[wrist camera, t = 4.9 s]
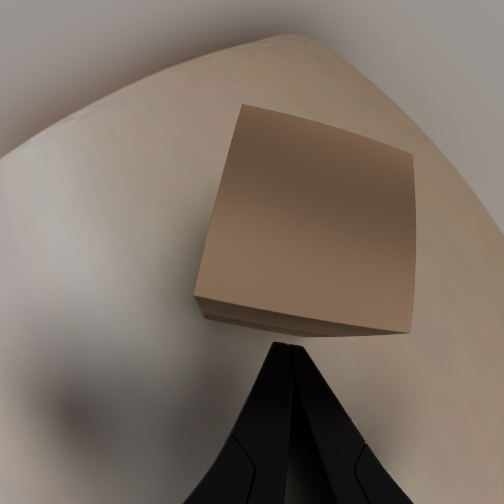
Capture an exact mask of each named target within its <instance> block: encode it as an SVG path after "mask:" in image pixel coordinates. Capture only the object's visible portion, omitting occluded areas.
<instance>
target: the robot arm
mask: <svg viewBox="0 0 504 504" xmlns="http://www.w3.org/2000/svg"><path fill="white" fill-rule="evenodd" d="M183 504H414V503H413V502H412V501H411V500H410V499H409V497H408V496H407V495H406V494H405V493H404V492H403V491H402V489H401V488H400V487H399V486H398V485H397V484H396V482H395V481H394V480H393V479H392V478H391V476H390V475H389V474H388V473H387V471H386V470H385V469H384V468H383V466H382V465H381V463H380V462H379V460H378V459H377V458H376V456H375V455H374V453H373V452H372V450H371V449H370V447H369V446H368V444H367V443H365V440H364V438H363V437H362V435H361V434H360V432H359V431H358V429H357V428H356V426H355V425H354V423H353V422H352V420H351V419H350V417H349V416H348V414H347V413H346V411H345V410H344V408H343V407H342V405H341V404H340V402H339V400H338V399H337V397H336V396H335V394H334V393H333V391H332V390H331V388H330V387H329V385H328V384H327V382H326V381H325V379H324V378H323V376H322V374H321V373H320V371H319V370H318V368H317V367H316V365H315V364H314V362H313V361H312V359H311V358H310V356H309V355H308V353H307V351H306V350H305V348H304V347H303V346H299V345H292V344H289V345H287V344H286V343H280V342H273V343H272V345H271V347H270V350H269V352H268V354H267V356H266V358H265V361H264V363H263V365H262V367H261V369H260V372H259V374H258V376H257V378H256V380H255V382H254V385H253V387H252V389H251V391H250V393H249V395H248V397H247V399H246V401H245V403H244V406H243V408H242V410H241V412H240V414H239V416H238V418H237V420H236V422H235V424H234V426H233V428H232V430H231V432H230V435H229V436H228V438H227V440H226V442H225V444H224V446H223V448H222V449H221V451H220V453H219V455H218V456H217V458H216V460H215V462H214V463H213V465H212V466H211V467H210V469H209V470H208V472H207V473H206V475H205V476H204V477H203V479H202V480H201V481H200V483H199V484H198V485H197V486H196V488H195V489H194V490H193V491H192V493H191V494H190V495H189V496H188V498H187V499H186V500H185V501H184V503H183Z"/></svg>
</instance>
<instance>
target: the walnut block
mask: <svg viewBox="0 0 504 504" xmlns="http://www.w3.org/2000/svg"><path fill="white" fill-rule="evenodd" d="M415 261H416V206H415V184H414V169H413V157H412V154H410V153H408V152H405V151H403V150H400V149H397V148H395V147H392V146H389V145H387V144H384V143H381V142H378V141H375V140H373V139H370V138H367V137H364V136H361V135H358V134H355V133H352V132H348V131H345V130H342V129H339V128H336V127H332V126H329V125H325V124H322V123H318V122H315V121H311V120H308V119H304V118H300V117H296V116H292V115H288V114H284V113H280V112H276V111H272V110H267V109H263V108H258V107H253V106H249V105H244V104H242V106H241V109H240V113H239V116H238V120H237V123H236V127H235V130H234V134H233V138H232V141H231V145H230V148H229V152H228V156H227V159H226V163H225V167H224V171H223V174H222V178H221V182H220V186H219V190H218V194H217V198H216V201H215V205H214V209H213V213H212V217H211V221H210V226H209V230H208V234H207V238H206V242H205V246H204V251H203V255H202V259H201V264H200V268H199V272H198V277H197V281H196V286H195V290H194V297H195V299H196V301H197V303H198V305H199V307H200V309H201V311H202V313H203V315H204V317H205V319H210V320H214V321H219V322H224V323H229V324H234V325H239V326H244V327H250V328H255V329H260V330H266V331H271V332H277V333H283V334H289V335H295V336H301V337H345V336H371V335H389V334H405V333H410V330H411V321H412V311H413V298H414V283H415Z"/></svg>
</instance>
